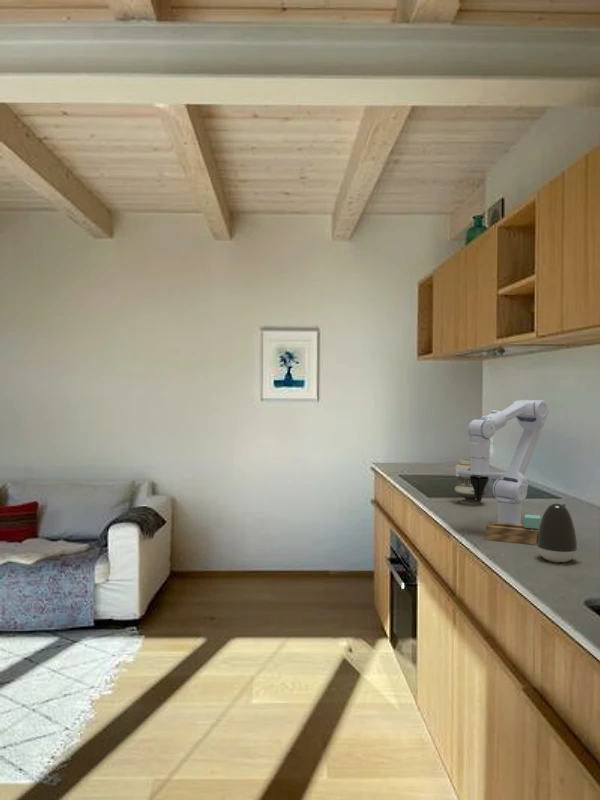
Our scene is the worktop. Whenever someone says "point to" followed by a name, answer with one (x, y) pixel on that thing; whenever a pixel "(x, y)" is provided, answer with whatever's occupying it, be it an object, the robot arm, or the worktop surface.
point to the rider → (532, 521)
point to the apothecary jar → (466, 485)
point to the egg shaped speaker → (557, 534)
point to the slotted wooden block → (510, 533)
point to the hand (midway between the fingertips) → (478, 500)
